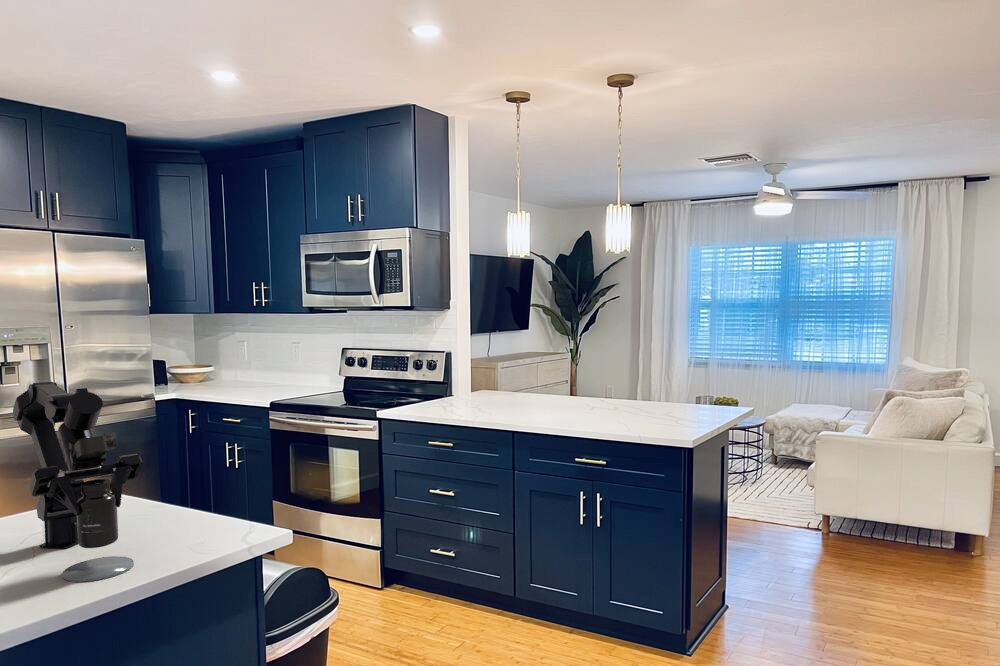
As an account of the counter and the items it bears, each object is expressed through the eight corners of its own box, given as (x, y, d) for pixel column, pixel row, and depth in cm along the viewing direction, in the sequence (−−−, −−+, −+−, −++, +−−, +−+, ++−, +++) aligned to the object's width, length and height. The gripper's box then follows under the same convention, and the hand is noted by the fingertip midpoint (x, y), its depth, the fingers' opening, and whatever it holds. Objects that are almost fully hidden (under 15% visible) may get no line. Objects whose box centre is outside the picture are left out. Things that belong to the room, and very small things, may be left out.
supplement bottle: (84, 552, 130) (80, 489, 129) (73, 543, 135) (69, 482, 134) (124, 541, 135) (120, 481, 134) (112, 533, 140) (108, 475, 139)
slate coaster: (46, 581, 129) (46, 578, 129) (90, 558, 141) (90, 555, 141) (107, 582, 128) (107, 580, 128) (146, 559, 140) (146, 556, 140)
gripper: (31, 426, 129) (50, 496, 122) (138, 414, 143) (160, 476, 136) (22, 461, 135) (39, 530, 128) (125, 447, 149) (146, 508, 142)
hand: (99, 510), depth 133 cm, fingers closed on supplement bottle, 7 cm apart
